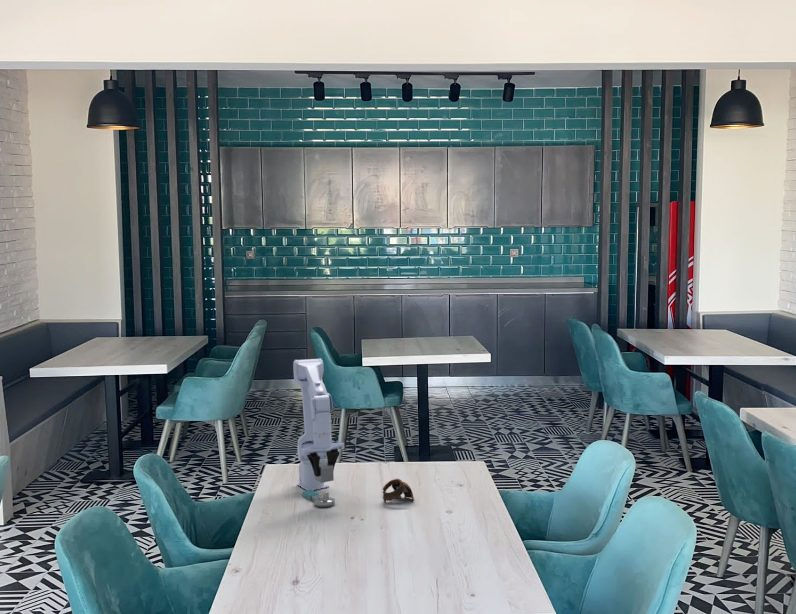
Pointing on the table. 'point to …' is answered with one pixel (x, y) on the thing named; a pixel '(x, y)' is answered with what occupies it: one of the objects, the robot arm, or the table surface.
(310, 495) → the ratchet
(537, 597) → the table surface
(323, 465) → the socket
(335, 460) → the robot arm
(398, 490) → the brown openwork dome
